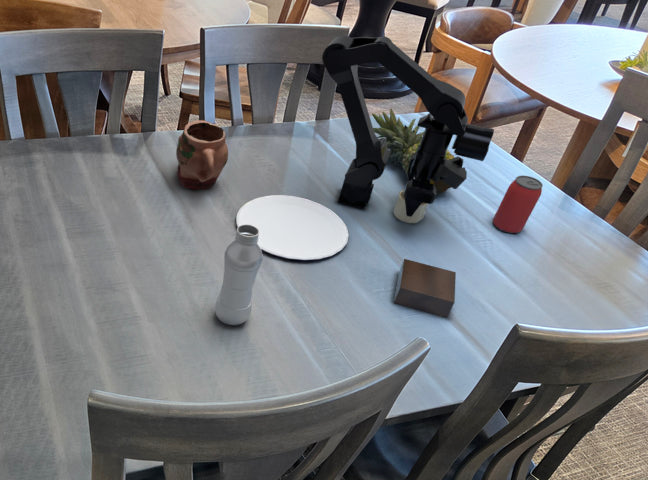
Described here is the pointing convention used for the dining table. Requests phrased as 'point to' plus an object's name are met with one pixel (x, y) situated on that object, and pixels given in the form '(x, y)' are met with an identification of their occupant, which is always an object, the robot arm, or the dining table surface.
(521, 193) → the beer can
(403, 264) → the riser
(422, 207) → the bowl
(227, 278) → the plastic bottle
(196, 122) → the decorative planter
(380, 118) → the fruit
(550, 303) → the dining table surface
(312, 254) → the plate
